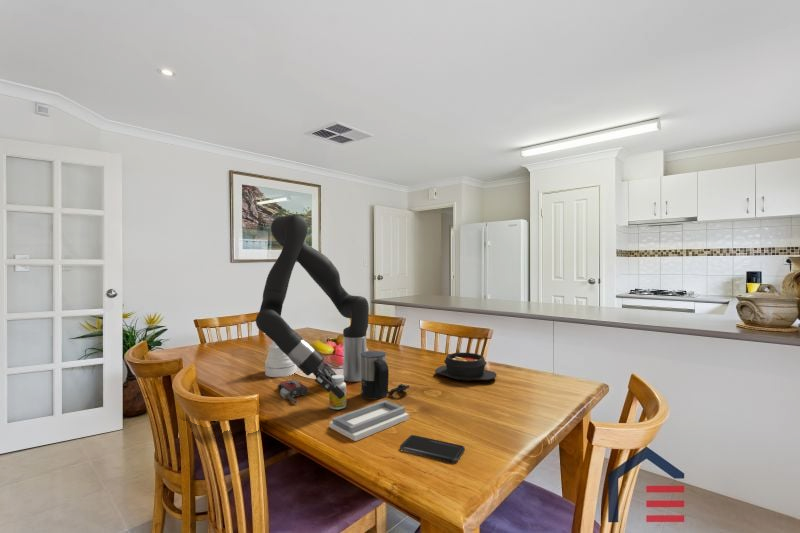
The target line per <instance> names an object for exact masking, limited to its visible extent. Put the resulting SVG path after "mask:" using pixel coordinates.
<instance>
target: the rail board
mask: <svg viewBox="0 0 800 533" xmlns="http://www.w3.org/2000/svg"><path fill="white" fill-rule="evenodd" d="M409 419H410V414H409V413H407V412H406V407H405V406H401V405H399V404H397V403H395V402H392V401H388V400H386V399H385V400H382V401H379V402H376V403H373V404H370V405H366V406H364V407H361V408H358V409H355V410H353V411H350V412H347V413H344V414H341V415H338V416H336V417H333V418H332V419H331V421H329V422H328V423H329V425H328V426H329V428H330V429H332V430H334V431H335V432H338V433H339V434H341V435H343V436H345V437H346V438H348V439H351V440H352V441H354V442H358V441H359V440H362V439H364V438H366V437H369V436H372V435H374V434H377V433H379V432H381V431H384V430H386V429H389V428H391V427H393V426H396V425H398V424H400V423H402V422H405V421H407V420H409Z"/></svg>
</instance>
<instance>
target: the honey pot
mask: <svg viewBox="0 0 800 533" xmlns="http://www.w3.org/2000/svg"><path fill="white" fill-rule="evenodd" d="M268 348H269V351H268V353H267V356H266V359H265V361H264V362H265V363H264V365H265V366H264V368H265V369H264V372H265V373H264V374H265V376H267V377H270V378H281V377H283V378H285V377H288V376H289V375H290V376H292V374H293V375H295V374H296V373H297V372H298V367H297V366H296V365H295V364H294V363H293V362H292V361H291V360H290V358H289V357H288V356H287V355H286V354H285V353H284V352H283V351H282V350H281V349H280V348H279V347H278V346H277V345H276V343H275V342H274V341H273V340H272V343H271V344H269V346H268ZM296 371H297V372H296ZM295 372H296V373H295ZM294 373H295V374H294Z"/></svg>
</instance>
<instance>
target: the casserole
mask: <svg viewBox="0 0 800 533" xmlns="http://www.w3.org/2000/svg"><path fill="white" fill-rule="evenodd" d="M443 362H444V363H445V365H442V366H439V367H437V368H436V369H434V372H435V373H436V374H438V375H442V376H445V377H448V378H451V379H453V380H457V381H463V382H472V381H489V380H492V379H496V377H497V375H498V374H497V373H496V372H495V371H491V370H487V369H485V367H486V365H487V361H486V359H485V357H484V356H483V355H481V354H478V353H475V352H474V353H473V352H453V353H449V354H447V355H446V356H445V360H444V361H443Z"/></svg>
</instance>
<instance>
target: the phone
mask: <svg viewBox="0 0 800 533" xmlns="http://www.w3.org/2000/svg"><path fill="white" fill-rule="evenodd" d="M399 446H400V447H399V450H400V451H401V450H402V451H401V452H404V451H406V452H405V453H409V454H414V455H418V456H421V457H424V458H429V457H430V458H429V459H433V458H434V459H433V460H437V459H438V461H441V462H445V463H448V464H456V463H458V462H459V461H458V460H460V459H461V458H462V456H463V455H464V453H465V452H466V447H465V446H464V445H460V444H456V443H452V442H448V441H443V440H438V439H433V438H430V437H426V436H420V435H416V434H412V435H409V436H408V437H407V438H406V439H405V440H404V441H403V442H402V443H401V444H400V445H399ZM464 451H465V452H464ZM462 454H463V455H462ZM460 457H461V458H460Z"/></svg>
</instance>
